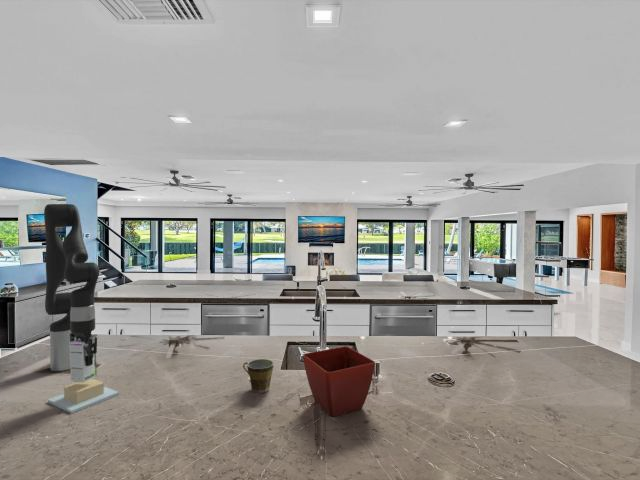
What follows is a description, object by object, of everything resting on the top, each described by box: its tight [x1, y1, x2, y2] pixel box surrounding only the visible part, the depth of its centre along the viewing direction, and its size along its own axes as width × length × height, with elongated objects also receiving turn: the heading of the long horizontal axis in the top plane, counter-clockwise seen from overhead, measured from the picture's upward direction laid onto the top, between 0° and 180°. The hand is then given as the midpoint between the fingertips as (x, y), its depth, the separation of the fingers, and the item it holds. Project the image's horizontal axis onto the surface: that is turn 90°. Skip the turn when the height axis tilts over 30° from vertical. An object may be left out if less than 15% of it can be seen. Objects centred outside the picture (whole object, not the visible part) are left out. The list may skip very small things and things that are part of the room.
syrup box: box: [69, 340, 98, 383], centre depth 130 cm, size 6×6×14 cm
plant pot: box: [302, 346, 376, 417], centre depth 126 cm, size 19×19×17 cm
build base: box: [47, 378, 120, 414], centre depth 130 cm, size 16×16×5 cm
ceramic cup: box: [242, 358, 274, 394], centre depth 139 cm, size 13×10×10 cm
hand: (83, 363), depth 130 cm, fingers closed on syrup box, 6 cm apart
